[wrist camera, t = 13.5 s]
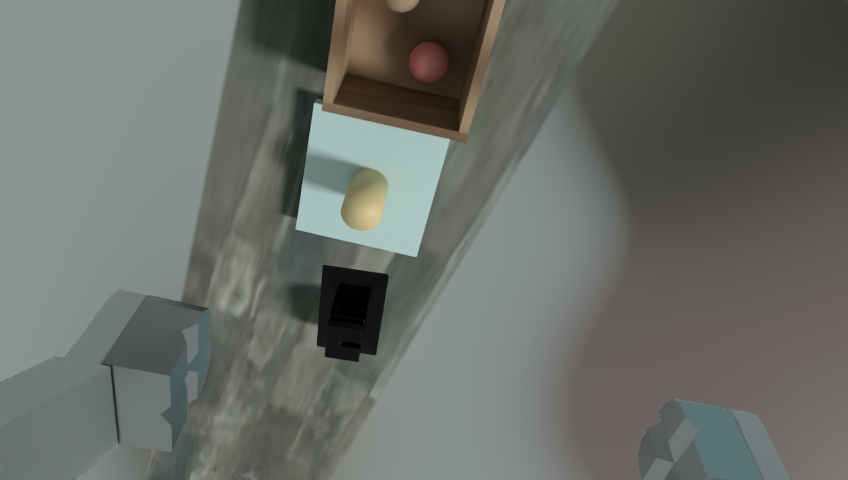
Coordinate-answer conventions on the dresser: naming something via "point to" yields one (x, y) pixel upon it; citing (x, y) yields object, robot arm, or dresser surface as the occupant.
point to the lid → (368, 182)
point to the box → (389, 63)
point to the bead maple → (401, 5)
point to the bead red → (428, 62)
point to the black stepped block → (350, 312)
